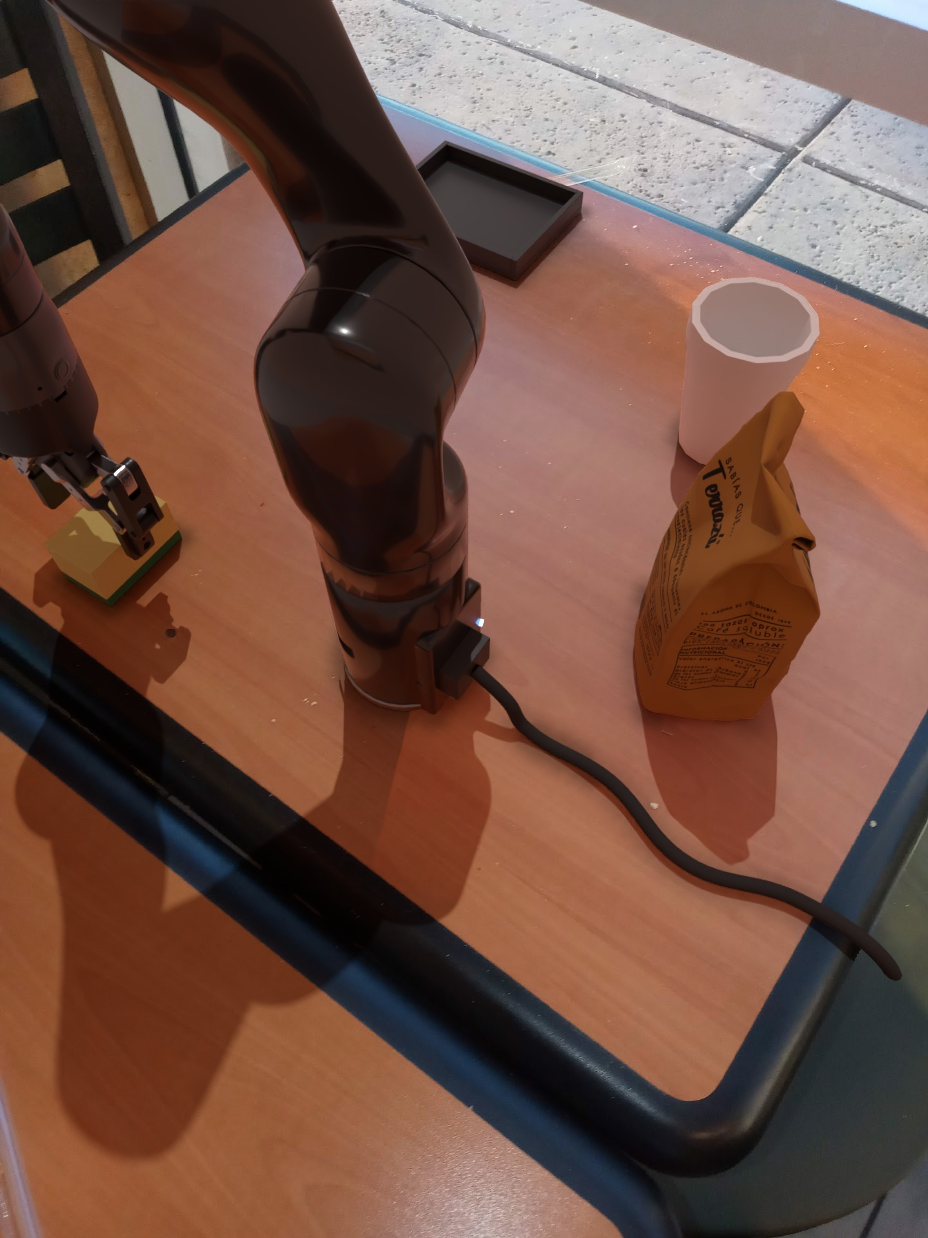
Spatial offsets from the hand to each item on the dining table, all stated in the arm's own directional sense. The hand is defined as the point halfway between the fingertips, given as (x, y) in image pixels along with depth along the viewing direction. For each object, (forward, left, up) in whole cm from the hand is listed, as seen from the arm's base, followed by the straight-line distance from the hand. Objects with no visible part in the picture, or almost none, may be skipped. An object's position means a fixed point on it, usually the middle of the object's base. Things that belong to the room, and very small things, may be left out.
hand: (100, 525), depth 69 cm
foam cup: (-34, -37, -4) cm, 51 cm away
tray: (0, -52, -4) cm, 52 cm away
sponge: (0, 0, -4) cm, 4 cm away
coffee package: (-42, -17, -4) cm, 46 cm away
